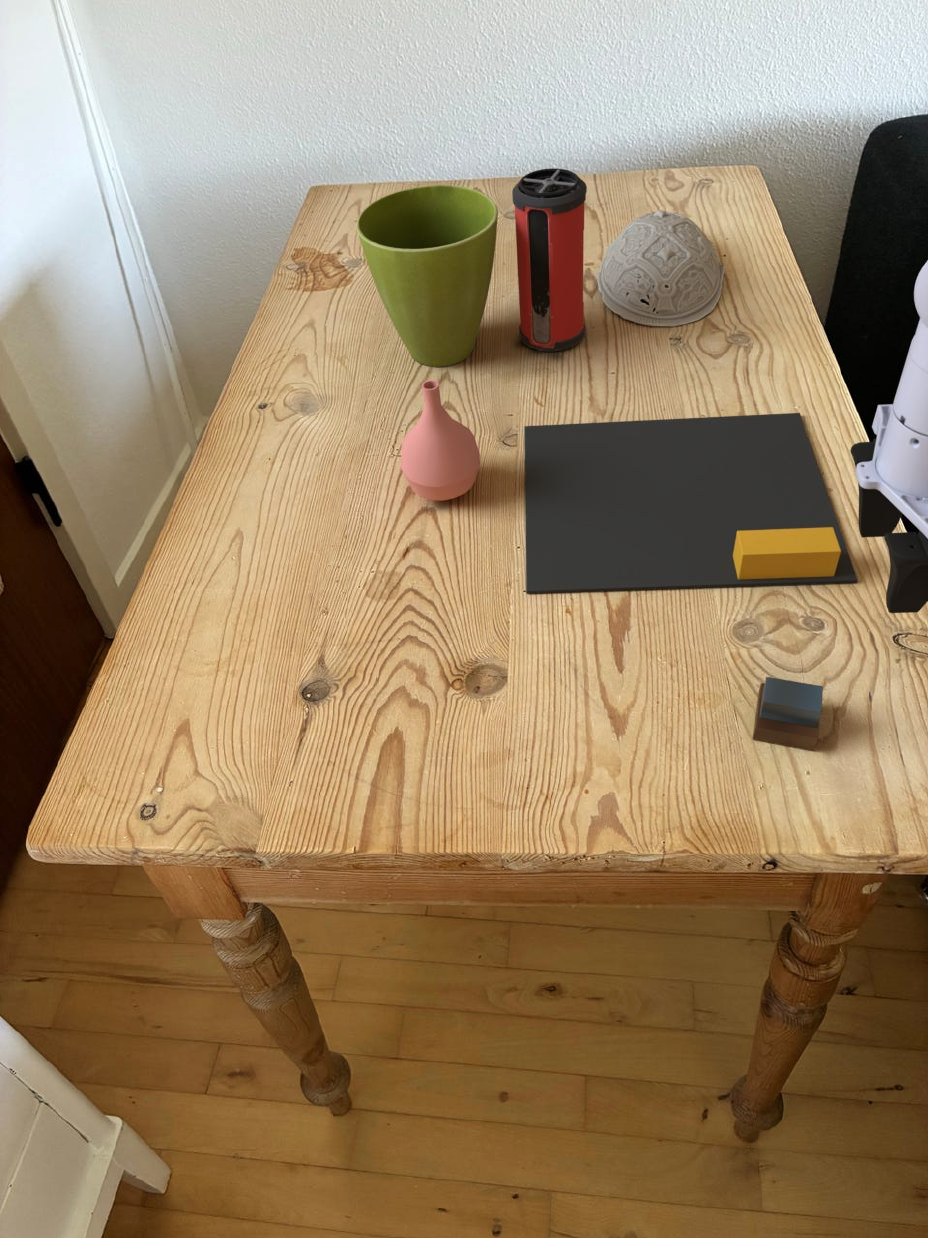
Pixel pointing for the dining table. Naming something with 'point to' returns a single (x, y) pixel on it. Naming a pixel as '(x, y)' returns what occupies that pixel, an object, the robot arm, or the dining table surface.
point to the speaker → (550, 258)
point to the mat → (666, 501)
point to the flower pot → (432, 266)
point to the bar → (786, 553)
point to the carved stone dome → (661, 271)
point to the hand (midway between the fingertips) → (887, 570)
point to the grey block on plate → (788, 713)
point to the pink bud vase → (439, 451)
